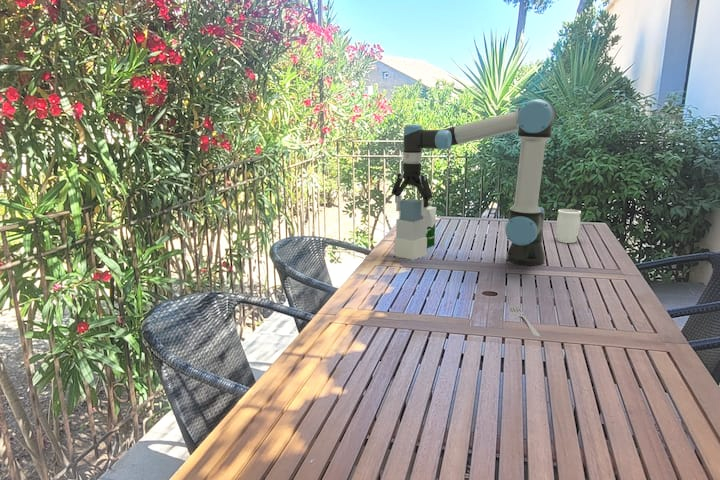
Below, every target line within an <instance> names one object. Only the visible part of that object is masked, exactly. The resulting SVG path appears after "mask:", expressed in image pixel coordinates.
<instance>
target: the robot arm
mask: <svg viewBox="0 0 720 480" xmlns="http://www.w3.org/2000/svg"><path fill="white" fill-rule="evenodd" d="M556 118H557V111H556V108H555V106H554V105H553V104H552V102H550V101H548V100H544V99H542V98H541V99H540V98H536V99H530V100H528V101H526V102H525V103H524V104H523V105H522V106H521V107H518V108H517V110H516V111H513V112H510V113H509V112H508V113H505V114H501V115H497V116H496V115H495V116H492V117H489V118H485V119H480V120H477V121H473V122H467V123H465V124H459V125H456V126H452V127H448V128H444V129H424V128H423V125H422V124H406V125H404V127H403V157H402V158H403V162H404V163H403V164H402V172H400V173H397V177H396V180H395V182H394V185H393V187H392V189H391V193H390V194H392V195H394V200H395V205H396V206H395V207H396V208H395V211H396V212H400V201H402V200H403V199H402V198H403V197H402V193H403V192H404V191H405V189H406V187H407V186H414V187H415V188H416V189H417V190H418V192H419V195H420V196H421V200H422V206H421V215H427V207H428V206H429V200H431V199H432V198H433V193H432V191H431V189H430V185H429V183H428V182H429V181H428V176H427V175H426V174H425V175H423V174H422V175H421V172H422V164H421V162H422V152H423V151H422V149H428V150H430V149H431V150H448V149H450V148H451V147H453V146H456V145H461V144H465V143H469V142H474V141H478V140H482V139H487V138H492V137H497V136H500V135H501V136H502V135H505V134H509V133H515V132H517V138H519V140H520V151H519V158H518V159H519V160H518V169H517V178H516V186H515V194H514V195H515V196H514V203H513V204H512V206H510V207H509V212H508V219H507V220H508V221H507V223H506V225H505V227H504V228H505V229H504V231H505V235H506V238H507V239H508V240H509V241H510V242H511V244H510V246H509V248H508V250H507V253H506V260H507V261H509V262H511V263H512V264H513V263H514V264H518V265H525V266H537V265H542V264H544V263H546V255H545V251H544V247H543V232H544V219H545V215H546V213H545V208H544V207H542V206H539V198H540V191H541V190H540V189H541V182H542V175H543V167H544V166H543V165H544V158H545V150H546V143H547V142H548V141H549V140H550V139H551V137H552V130H553V125H554V123H555V121H556ZM403 179H404V180H403Z"/></svg>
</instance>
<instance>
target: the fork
mask: <svg viewBox="0 0 720 480" xmlns="http://www.w3.org/2000/svg"><path fill="white" fill-rule="evenodd" d="M509 305H510V308H511V311H512V313H513V314H516V315H517V314H524V312H523V311H522V309H521V306H520V305H519V303H517V304H516V303H514V304H512V303H510V304H509ZM517 317H519V318H522V319H523V320H524V321H525V323H526V325H527V326H528V328H529V330H530V332H531V333H532V335H534V336H536V337H540V336H541V335H540V333H539V332H538V330H536V329H535V327H534V326H533V325H532V324H531V323H530V321H529V320H528V319H527V318H526V316H525V315H517Z"/></svg>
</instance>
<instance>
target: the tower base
mask: <svg viewBox="0 0 720 480" xmlns="http://www.w3.org/2000/svg"><path fill="white" fill-rule="evenodd" d="M393 241H394V242H393V245H394V246H393V256H395V257H399V258H404V259H408V260H417V259H419V258H422V257H425V256H427V253H428V252H427V251H428V248H427V237H425V238H422V239H418V240H415V241H410V240H405V239H400V238H396V236H395V237H394V238H393Z"/></svg>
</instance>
